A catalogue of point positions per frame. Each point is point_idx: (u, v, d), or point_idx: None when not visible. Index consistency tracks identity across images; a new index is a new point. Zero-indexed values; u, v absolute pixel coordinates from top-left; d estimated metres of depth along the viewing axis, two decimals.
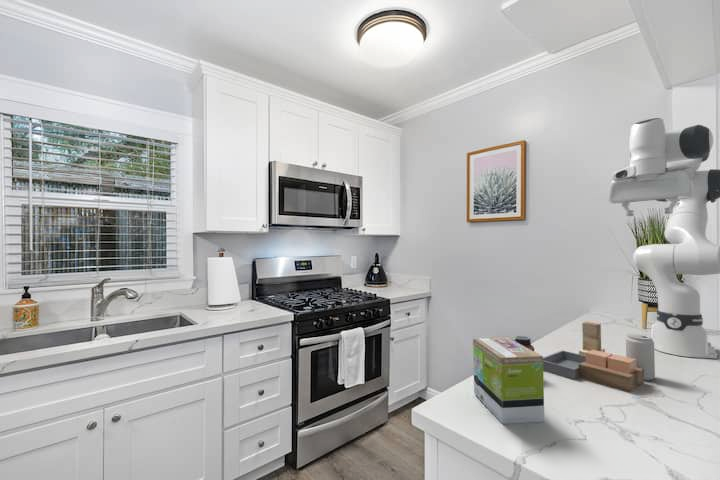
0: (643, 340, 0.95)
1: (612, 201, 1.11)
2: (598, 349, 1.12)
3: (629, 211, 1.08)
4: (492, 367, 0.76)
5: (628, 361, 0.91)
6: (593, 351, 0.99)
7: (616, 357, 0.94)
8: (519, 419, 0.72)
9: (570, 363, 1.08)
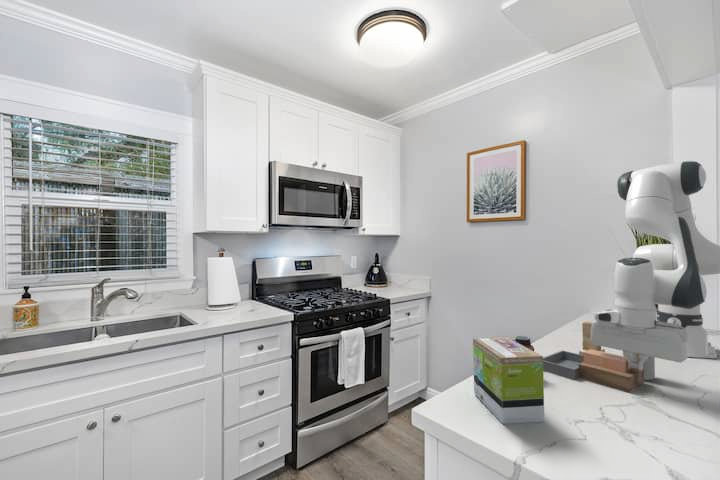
0: None
1: (594, 343, 0.97)
2: (598, 349, 1.12)
3: (631, 363, 0.90)
4: (492, 367, 0.76)
5: (623, 360, 0.91)
6: (591, 351, 0.99)
7: (612, 356, 0.95)
8: (519, 419, 0.72)
9: (570, 363, 1.08)
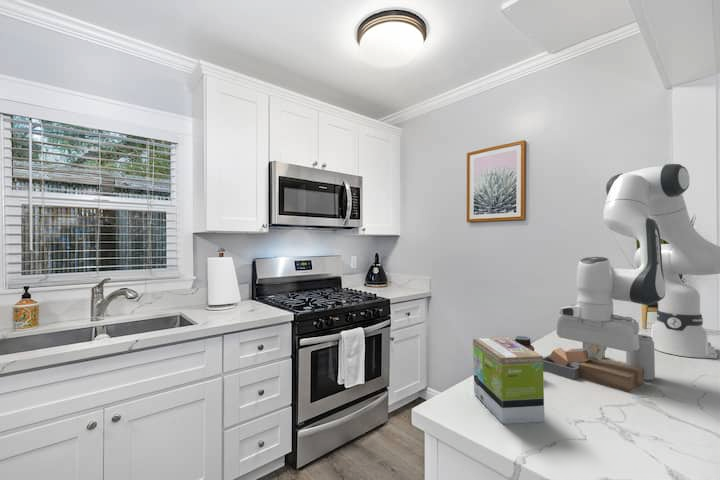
0: (643, 340, 0.95)
1: (560, 336, 1.05)
2: (598, 349, 1.12)
3: (591, 354, 0.98)
4: (492, 367, 0.76)
5: (581, 350, 1.00)
6: None
7: (572, 350, 1.03)
8: (519, 419, 0.72)
9: None
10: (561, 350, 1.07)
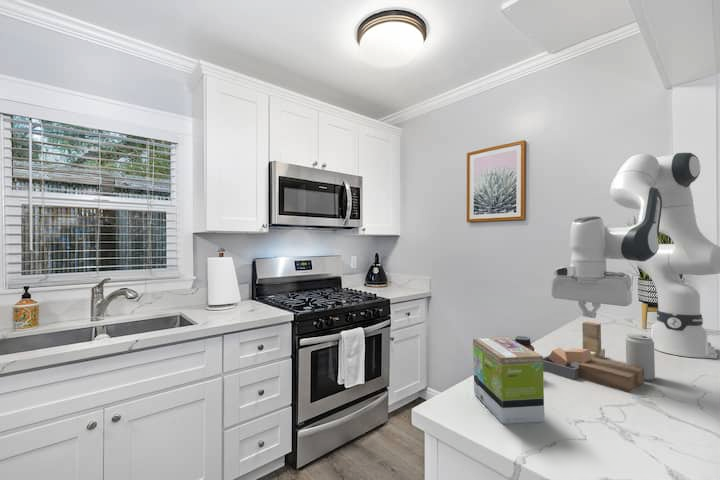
0: (643, 340, 0.95)
1: (555, 297, 1.06)
2: (598, 349, 1.12)
3: (585, 312, 1.00)
4: (492, 367, 0.76)
5: (582, 351, 0.99)
6: None
7: (572, 350, 1.03)
8: (519, 419, 0.72)
9: None
10: (560, 350, 1.07)
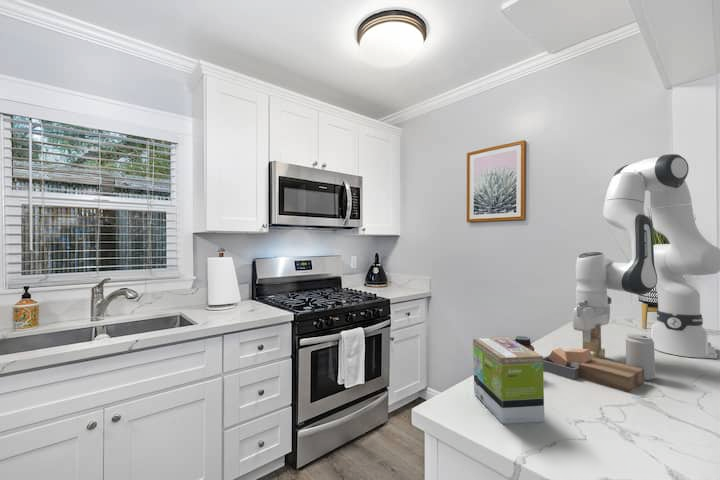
0: (643, 340, 0.95)
1: None
2: (598, 349, 1.12)
3: None
4: (492, 367, 0.76)
5: (582, 351, 0.99)
6: None
7: (572, 350, 1.03)
8: (519, 419, 0.72)
9: None
10: (560, 350, 1.07)
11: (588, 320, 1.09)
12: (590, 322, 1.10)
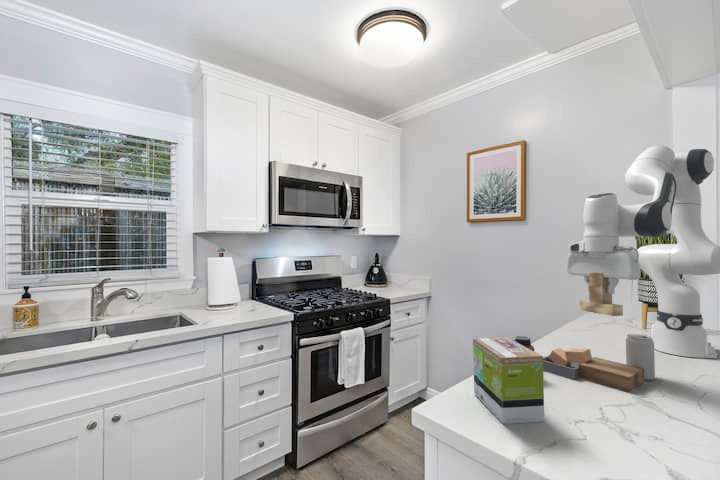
0: (643, 340, 0.95)
1: (569, 273, 1.09)
2: None
3: None
4: (492, 367, 0.76)
5: (582, 351, 0.99)
6: None
7: (572, 350, 1.03)
8: (519, 419, 0.72)
9: None
10: (560, 350, 1.07)
11: None
12: None
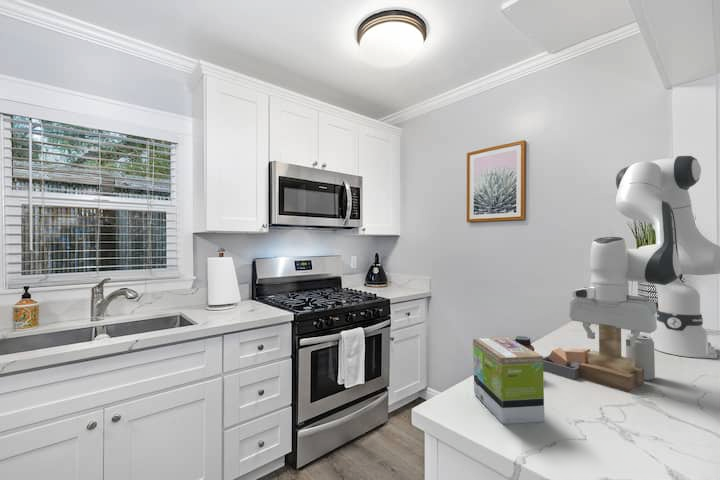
0: (643, 340, 0.95)
1: (572, 319, 1.02)
2: None
3: (590, 334, 0.99)
4: (492, 367, 0.76)
5: (582, 351, 0.99)
6: None
7: (572, 350, 1.03)
8: (519, 419, 0.72)
9: None
10: (560, 350, 1.07)
11: None
12: None
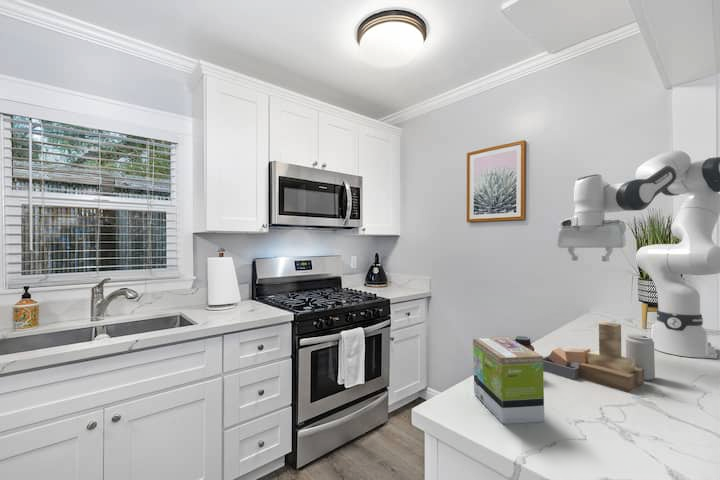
0: (643, 340, 0.95)
1: (560, 246, 1.23)
2: None
3: (573, 256, 1.20)
4: (492, 367, 0.76)
5: (582, 351, 0.99)
6: None
7: (572, 350, 1.03)
8: (519, 419, 0.72)
9: None
10: (560, 350, 1.07)
11: None
12: None
